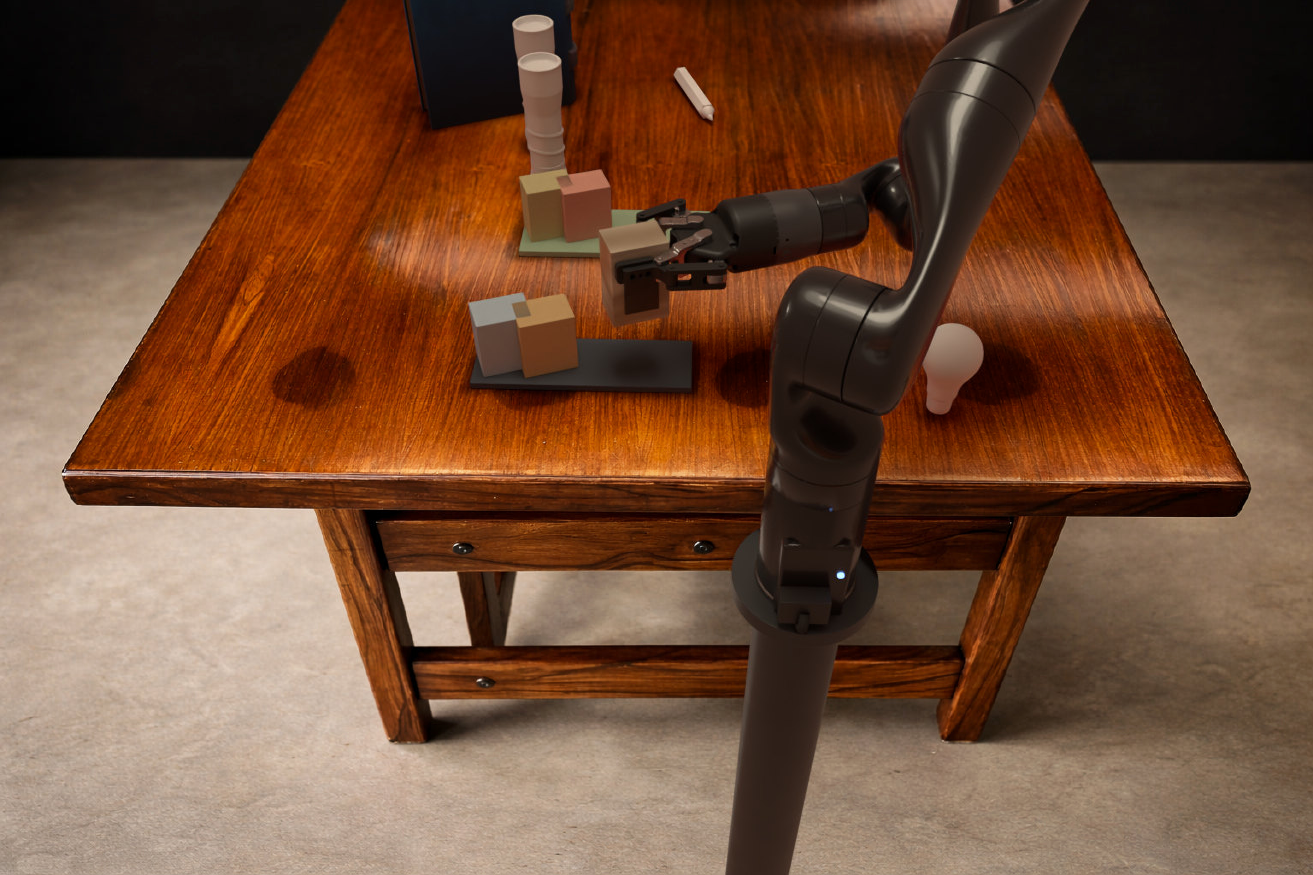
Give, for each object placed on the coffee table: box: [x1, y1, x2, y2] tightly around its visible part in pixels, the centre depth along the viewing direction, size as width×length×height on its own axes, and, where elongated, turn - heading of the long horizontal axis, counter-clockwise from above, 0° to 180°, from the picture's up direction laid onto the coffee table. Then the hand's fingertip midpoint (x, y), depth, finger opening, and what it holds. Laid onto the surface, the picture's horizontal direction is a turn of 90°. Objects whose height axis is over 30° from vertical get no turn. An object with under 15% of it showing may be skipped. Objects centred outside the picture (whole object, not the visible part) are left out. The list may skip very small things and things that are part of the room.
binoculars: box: [512, 15, 568, 175], centre depth 138 cm, size 17×5×18 cm, turn 9°
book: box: [402, 0, 579, 131], centre depth 148 cm, size 24×9×30 cm, turn 111°
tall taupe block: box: [599, 220, 670, 328], centre depth 104 cm, size 5×6×9 cm
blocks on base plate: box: [467, 292, 693, 394], centre depth 111 cm, size 8×24×8 cm, turn 88°
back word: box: [518, 168, 711, 259], centre depth 129 cm, size 10×24×8 cm, turn 88°
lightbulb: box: [922, 322, 985, 415], centre depth 104 cm, size 6×6×11 cm
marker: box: [673, 66, 716, 122], centre depth 157 cm, size 3×2×16 cm
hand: (609, 259), depth 101 cm, fingers closed on tall taupe block, 4 cm apart
